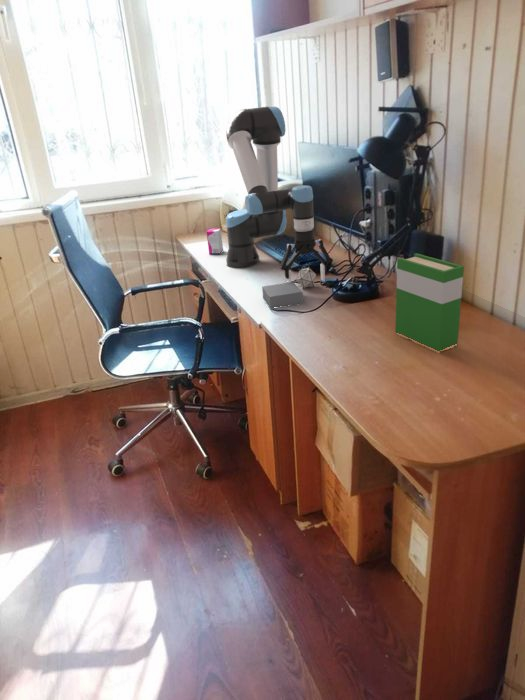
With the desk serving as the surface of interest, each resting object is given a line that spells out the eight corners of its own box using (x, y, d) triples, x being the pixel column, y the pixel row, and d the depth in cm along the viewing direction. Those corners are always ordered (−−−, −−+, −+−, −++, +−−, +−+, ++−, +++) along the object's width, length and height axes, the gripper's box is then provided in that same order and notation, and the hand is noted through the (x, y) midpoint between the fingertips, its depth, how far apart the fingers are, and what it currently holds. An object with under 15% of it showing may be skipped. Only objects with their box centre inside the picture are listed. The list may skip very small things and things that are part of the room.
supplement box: (223, 251, 270) (221, 228, 265) (220, 254, 265) (217, 231, 260) (212, 251, 272) (209, 228, 267) (208, 254, 267) (206, 231, 262)
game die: (311, 297, 213) (319, 281, 205) (290, 291, 212) (298, 275, 204) (314, 279, 218) (322, 263, 210) (293, 273, 217) (301, 257, 209)
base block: (263, 299, 206) (262, 286, 203) (293, 294, 208) (292, 281, 205) (270, 309, 195) (269, 296, 193) (302, 304, 197) (302, 291, 195)
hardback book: (395, 334, 168) (397, 258, 157) (413, 327, 171) (416, 253, 160) (438, 353, 154) (444, 272, 143) (457, 346, 157) (464, 266, 146)
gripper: (274, 236, 197) (278, 291, 206) (339, 226, 202) (340, 281, 211) (269, 231, 203) (273, 285, 213) (331, 222, 208) (332, 275, 218)
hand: (306, 283), depth 212 cm, fingers open, 13 cm apart
